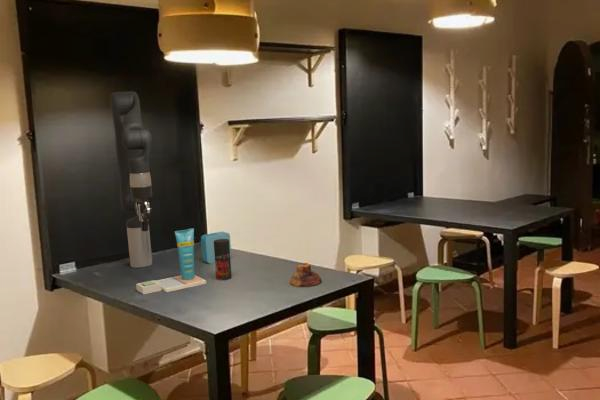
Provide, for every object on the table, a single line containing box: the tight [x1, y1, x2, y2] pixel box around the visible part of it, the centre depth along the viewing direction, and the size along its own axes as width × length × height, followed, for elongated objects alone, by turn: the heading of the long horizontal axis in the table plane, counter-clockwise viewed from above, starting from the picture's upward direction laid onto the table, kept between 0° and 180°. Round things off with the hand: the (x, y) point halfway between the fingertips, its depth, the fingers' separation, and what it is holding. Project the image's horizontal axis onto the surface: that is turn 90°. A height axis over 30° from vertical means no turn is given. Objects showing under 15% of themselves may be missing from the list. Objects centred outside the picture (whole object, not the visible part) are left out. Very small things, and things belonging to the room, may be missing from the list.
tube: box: [174, 228, 196, 280], centre depth 242 cm, size 7×5×19 cm, turn 123°
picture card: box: [156, 275, 207, 293], centre depth 242 cm, size 14×16×1 cm
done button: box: [140, 280, 156, 286], centre depth 235 cm, size 4×4×2 cm
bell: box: [289, 262, 322, 288], centre depth 234 cm, size 12×12×7 cm
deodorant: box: [214, 239, 233, 281], centre depth 245 cm, size 6×6×15 cm
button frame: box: [135, 279, 163, 295], centre depth 235 cm, size 7×7×2 cm
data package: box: [200, 231, 232, 264], centre depth 275 cm, size 12×4×12 cm, turn 127°
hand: (145, 230), depth 235 cm, fingers closed
